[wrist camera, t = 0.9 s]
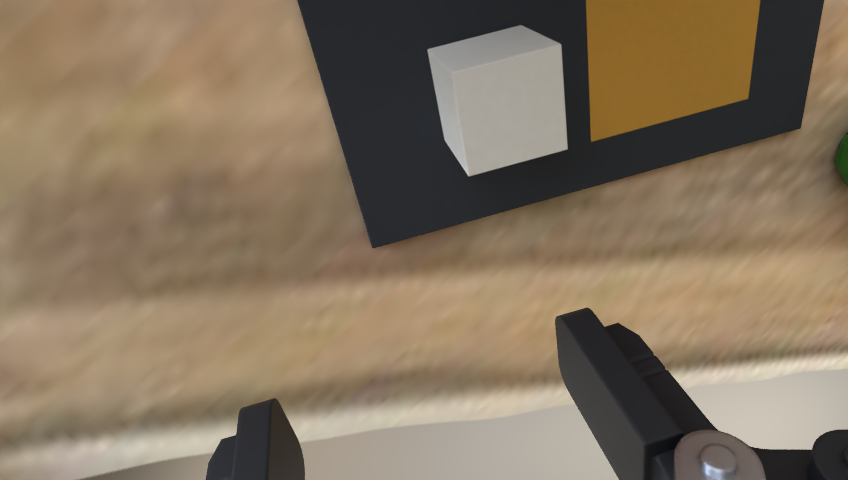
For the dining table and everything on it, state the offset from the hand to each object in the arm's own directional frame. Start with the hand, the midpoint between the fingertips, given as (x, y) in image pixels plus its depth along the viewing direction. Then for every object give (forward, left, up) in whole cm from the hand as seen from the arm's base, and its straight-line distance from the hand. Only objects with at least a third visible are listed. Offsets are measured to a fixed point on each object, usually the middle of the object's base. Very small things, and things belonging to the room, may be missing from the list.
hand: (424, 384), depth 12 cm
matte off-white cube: (0, +7, -19) cm, 20 cm away
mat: (0, +13, -20) cm, 24 cm away
